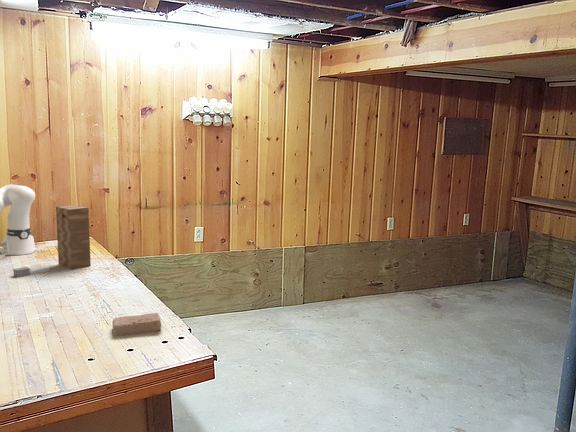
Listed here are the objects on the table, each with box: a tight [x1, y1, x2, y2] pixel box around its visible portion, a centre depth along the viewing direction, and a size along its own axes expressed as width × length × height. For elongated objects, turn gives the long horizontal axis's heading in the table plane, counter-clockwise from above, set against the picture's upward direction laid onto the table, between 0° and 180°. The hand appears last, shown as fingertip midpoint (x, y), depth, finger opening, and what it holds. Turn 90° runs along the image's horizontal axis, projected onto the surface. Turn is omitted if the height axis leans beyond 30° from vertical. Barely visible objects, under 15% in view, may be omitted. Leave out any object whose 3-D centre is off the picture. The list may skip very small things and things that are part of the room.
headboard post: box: [55, 204, 92, 270], centre depth 270 cm, size 14×10×31 cm
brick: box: [112, 312, 162, 337], centre depth 187 cm, size 17×8×5 cm, turn 111°
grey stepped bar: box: [12, 266, 50, 278], centre depth 255 cm, size 16×4×4 cm, turn 140°
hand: (0, 254), depth 242 cm, fingers open, 8 cm apart
